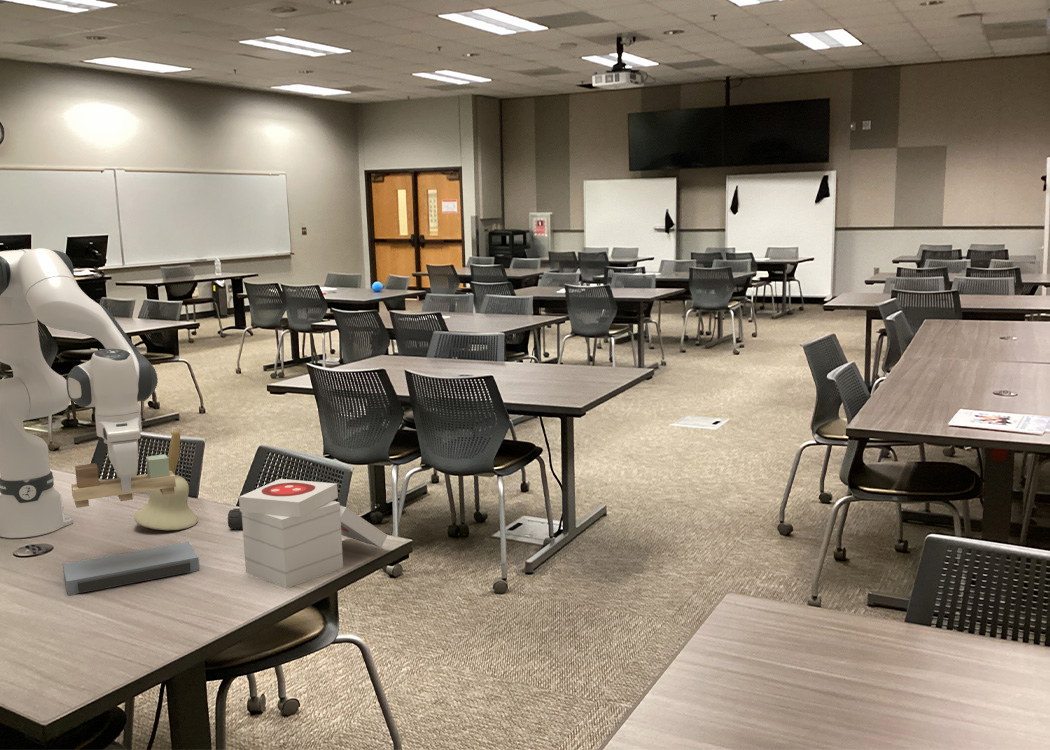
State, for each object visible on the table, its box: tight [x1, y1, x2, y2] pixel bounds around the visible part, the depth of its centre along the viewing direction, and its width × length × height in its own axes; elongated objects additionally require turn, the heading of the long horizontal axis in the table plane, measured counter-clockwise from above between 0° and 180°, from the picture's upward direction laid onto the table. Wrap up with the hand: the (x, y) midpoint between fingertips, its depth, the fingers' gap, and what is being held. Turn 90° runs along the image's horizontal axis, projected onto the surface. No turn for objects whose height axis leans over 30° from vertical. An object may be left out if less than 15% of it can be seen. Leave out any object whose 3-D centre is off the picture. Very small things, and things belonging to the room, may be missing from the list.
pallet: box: [71, 471, 176, 509], centre depth 196 cm, size 5×20×4 cm, turn 120°
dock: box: [62, 541, 200, 596], centre depth 198 cm, size 13×26×3 cm, turn 120°
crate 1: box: [74, 463, 100, 489], centre depth 192 cm, size 4×4×4 cm
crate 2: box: [145, 454, 170, 479], centre depth 199 cm, size 4×4×4 cm
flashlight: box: [227, 507, 243, 530], centre depth 229 cm, size 15×5×5 cm, turn 90°
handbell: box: [133, 429, 199, 531], centre depth 231 cm, size 15×15×25 cm
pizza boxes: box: [238, 478, 388, 589], centre depth 202 cm, size 19×30×18 cm, turn 140°
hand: (124, 488), depth 196 cm, fingers closed on pallet, 5 cm apart
